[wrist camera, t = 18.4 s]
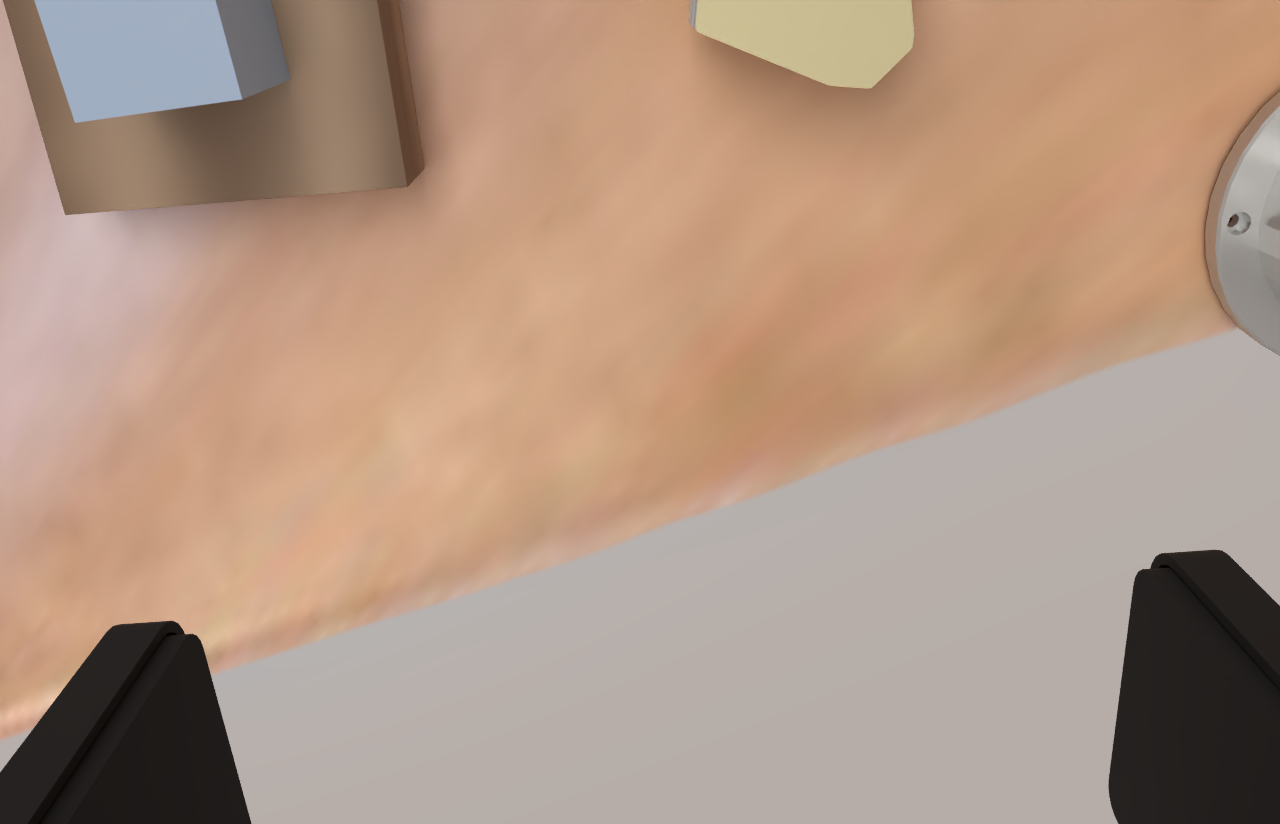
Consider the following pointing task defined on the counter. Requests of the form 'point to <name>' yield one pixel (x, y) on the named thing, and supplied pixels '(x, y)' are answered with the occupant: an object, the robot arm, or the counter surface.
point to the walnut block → (244, 120)
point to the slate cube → (161, 53)
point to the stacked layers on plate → (814, 35)
